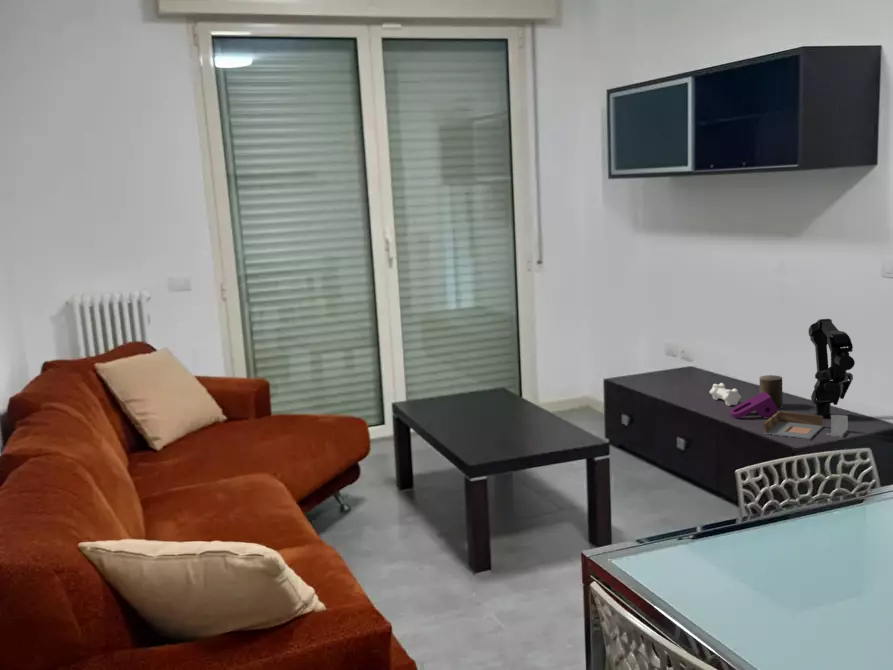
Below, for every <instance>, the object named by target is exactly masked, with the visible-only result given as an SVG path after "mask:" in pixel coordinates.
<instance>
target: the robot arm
mask: <svg viewBox="0 0 893 670" xmlns="http://www.w3.org/2000/svg"><path fill="white" fill-rule="evenodd" d="M808 336H809V337H810V338H809V339H810V341H811V342H812V344H813V345H814V348H815V350H814V351H815V360H816V373H815V374H814V378H815V379H816V382H815V384H814V386H813V388H814V390H813V391H812V394H811V396H810V398H811V402H812V403H813V404H814V405H815V412H816V413H815V414H814V415H818V416H823V419H831V415H832V414H833V413H831V407H832V406H831V404H833V406H837V405H838V403H839V400H844V398H845V396H846V394H847V393H848V390H849V388H850V386H851V384H852V382H853V380H854V376H853V374H852V373H851V372H847V371H850V370H852V369H853V368H854V366H855V363H856V361H855V359H854V358H853V357H852V356H851V355H850V353H852V352H853V348H854V347H853V346H854V345H853V343H852V339H851V338H850V335H848V333H846V332H845V331H841V330H839V329H838V328H837V326H835V324H834V323H833V320H832V319H830V318H821V319H818V320H817V321H816V322H815V323H812V324H810V326H809V328H808ZM828 349H829V352H830V366H829V359H828V358H829V356H828Z"/></svg>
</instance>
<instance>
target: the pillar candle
mask: <svg viewBox="0 0 893 670" xmlns="http://www.w3.org/2000/svg"><path fill="white" fill-rule="evenodd" d="M764 391H765V392H766V393H767V394H768V395H770V396H771V398H772V399H773V401H774V403H775V405H776V407H777V410H779V409H778V408H780V409H782V408H783V407H784V405H783V403H784V402H783V400H784V399H783V377H782V376H781V375H776V374H775V375H774V374H773V375H772V374H770V375H760V376H759V394H760V393H762V392H764ZM781 407H782V408H781Z"/></svg>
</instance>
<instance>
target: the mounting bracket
mask: <svg viewBox="0 0 893 670" xmlns="http://www.w3.org/2000/svg"><path fill="white" fill-rule="evenodd" d="M754 411H755V412H756V413H758V415H759V416H760V417H762V418H763V417H772V416H773V415H774V414H776V413H777V412H778V409H777V407H776V405H775V403H774V401H773V399H772V398H771V396H770V395H768V394H767V393H766V392H765V391H764V392H762V393H760V392H759V393H758V394H756V395H755V396H752V397H751V398H749V399H747V400H745V401H743V402H741V403H738V404H737V405H734V407H733V408H731V410H730V411H729V414H730V415H731V417H732V418H733V419H740V418H743V417H745V416H748V415H749V414H750V413H754Z"/></svg>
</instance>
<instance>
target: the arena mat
mask: <svg viewBox="0 0 893 670" xmlns="http://www.w3.org/2000/svg"><path fill="white" fill-rule="evenodd" d="M823 428H824V425H823V426H818V425H809V424H800V423H791V422H783V421H780V422H779V423H777V424H776V425H775V426H774V427H773V428H771V429H770V430H769V431H768V432H767V433H765V432H764V431H763V434H764V435H766V434H772V435H771V436H774V435H779V436H778V437H782V436H788V437H787V438H790V437H797V438H796V439H798V438H804V439H803V440H806V439H810V440H812V439H813V438H814V437H815V435H817V434H818V433H819V432H820V430H821V429H823ZM818 431H819V432H818ZM821 431H822V430H821ZM817 432H818V433H817Z"/></svg>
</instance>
